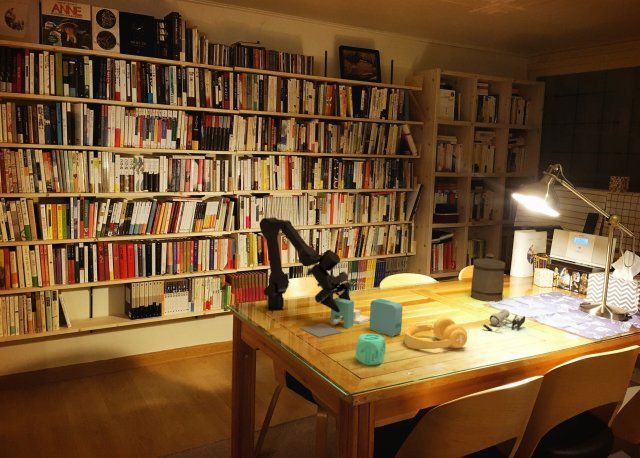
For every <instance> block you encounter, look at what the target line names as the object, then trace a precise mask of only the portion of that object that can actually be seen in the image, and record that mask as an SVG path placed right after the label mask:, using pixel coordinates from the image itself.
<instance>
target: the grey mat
mask: <svg viewBox="0 0 640 458" xmlns="http://www.w3.org/2000/svg"><path fill="white" fill-rule="evenodd" d="M299 329H300V330H302V331H304V332H306V333H308V334H311V335H313V336H315V337H317V338H324V337H329V336H332V335H337V334H342V333H343V331H342V330H339V329H336V328H334V327H331V326H329V325H327V324H325V323H320V324H319V323H318V324H313V325H309V326H304V327H300V328H299Z"/></svg>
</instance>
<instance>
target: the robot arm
mask: <svg viewBox="0 0 640 458" xmlns="http://www.w3.org/2000/svg"><path fill="white" fill-rule="evenodd" d="M259 228H260V229H259V230H260V233H261V235H262V236H263V238H264V239H265V241H266V248H267V255H268V261H269V267H270V268H269V269H270V274H269V277H268V285H267V286H266V287H265V288H264V289H263V294H264V296H266V305H265V307H266V308H267V310H268V311H282V310H284V304H285V301H284V299H285V298H284V296H283V295H284V294H286V292H287V289H288V288H289V284H291V283H290V280H289V274H288V273H285V272H284V271H283V267H282V266H283V265H282V259H281V253H280V245H279V240H278V237H279V233H280V231H281V232H282V233H283V234H284V236H285V237H286V239H288V241H289V242H290V244H291V245H292V246H293V247H294V249H295V251H296V252H297V258H298V259H299V261H300V264H301V265H302V266H304V267H310V266H312V267H310V268H307V271H306V276H311V275H312V276H313V277H314V279H315V280H316V281H317V284H316V286H317V287H318V288H319V287H320V288H321V290H320V291H319V292H318V293H317V294H315V296H314V300H315V301H316V303H317V304H318V303H319V304H320V305H323V306H325V307H327V308H328V309H330V310H331V309H332V310H334V311H336V312H337V313H338V312H340V310H339V308H338V306H337V304H336V303H335V301H334V299H335V298H334V295H336V296H337V298H340V299H345V300H350V301H352V300H351V296H350V290H351V287H352V285H351V284H350V282H349V281H348V278H349V275H348V274H347V273H346V271H341V272H339V273H338V275H336V276H334V274H330V273H329V272H331V271H332V270H333V269H334V268H335V267H336V266H337V265H338V264H339V263H340V262H341V257H340V256H339V255H338V254H337V253H336V252H334V251H332V250H331V249H327V250H326V251H325V252H324V253H323V254H320V253H319V252H318V251H317V250H316V249H314V248H313V247H312V246H310V245H309V244H308V243H307V242H305V240H304V239H303V237H302V236H301V235H300V233H299V232H298V231H297V229H295V227H294V226H293V224H292V222H291V221H290V220H288V219H278V218H277V217H275V216H273V217H272V216H271V217H264V218H262V219H261V220H260V221H259Z"/></svg>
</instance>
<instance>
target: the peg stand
mask: <svg viewBox="0 0 640 458" xmlns="http://www.w3.org/2000/svg"><path fill="white" fill-rule="evenodd" d="M361 312H362V310H361V309H356V308H354V313H353V324H358V325H361V324H363V323H366V322H368V321H370V316H367V315H362V314H361ZM342 321H344V317H342V316H340V318H339V319H334V320H333V324H336V325H338V324H339V323H338V322H340V323H341V322H342ZM337 323H338V324H337Z"/></svg>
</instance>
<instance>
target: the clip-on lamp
mask: <svg viewBox="0 0 640 458" xmlns="http://www.w3.org/2000/svg"><path fill="white" fill-rule="evenodd" d="M509 317H510V312H509V310H508V309H502V310H500V311H499V312H497V313H492V314H491V315H490V316H489V323H490V324H491V325H492V326H495V327H499V328H498V329H500V328H501V327H502V326H504V325H505V324H506V323H507V324H511V330H512V331H513V330H514V329H515V328H514V327H515V326H516V331H519V330H520V328H521V326H522V325H524V323H525V322H526V316H524V315H523V316H521V317H519V316H518V315H517V314H515V316H514V318H512V319H510V318H509ZM503 321H504V322H503ZM481 326H483V328H485V329H487V330H488V331H489V332H493V333H495V332H497V331H498V329H497V330H493V328H491V327H489V326H488V325H487V324H486V323H485V324H483V323H481Z"/></svg>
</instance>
